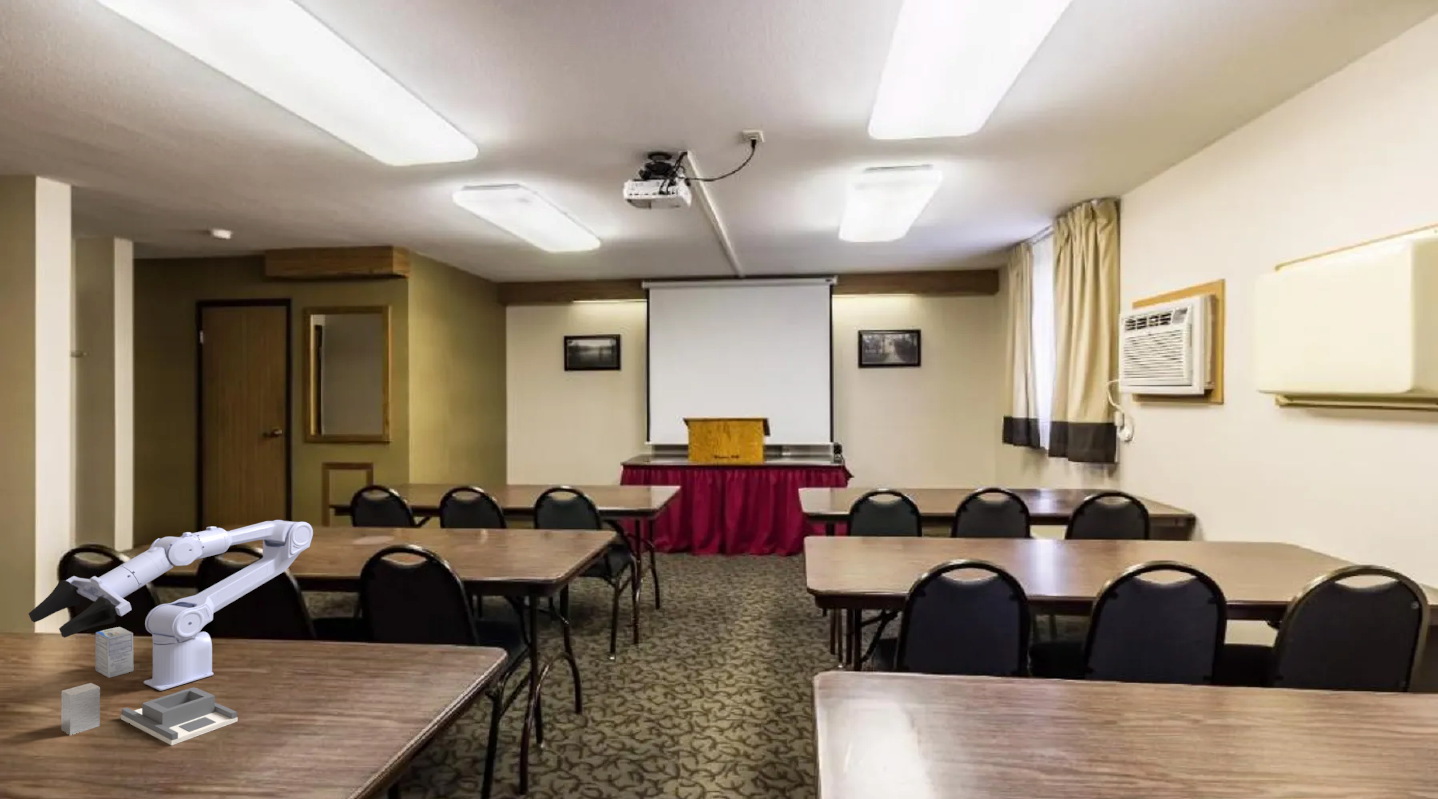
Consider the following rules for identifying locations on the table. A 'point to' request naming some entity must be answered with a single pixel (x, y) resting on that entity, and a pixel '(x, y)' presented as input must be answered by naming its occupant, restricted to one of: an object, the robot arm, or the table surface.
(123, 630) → the medicine box
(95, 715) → the steel square block
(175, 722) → the frame
